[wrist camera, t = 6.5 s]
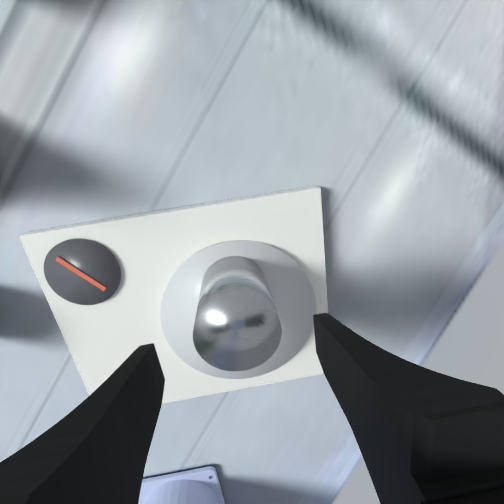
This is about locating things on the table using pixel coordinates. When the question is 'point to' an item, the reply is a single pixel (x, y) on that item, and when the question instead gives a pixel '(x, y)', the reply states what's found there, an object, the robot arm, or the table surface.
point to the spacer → (236, 316)
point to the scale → (183, 285)
